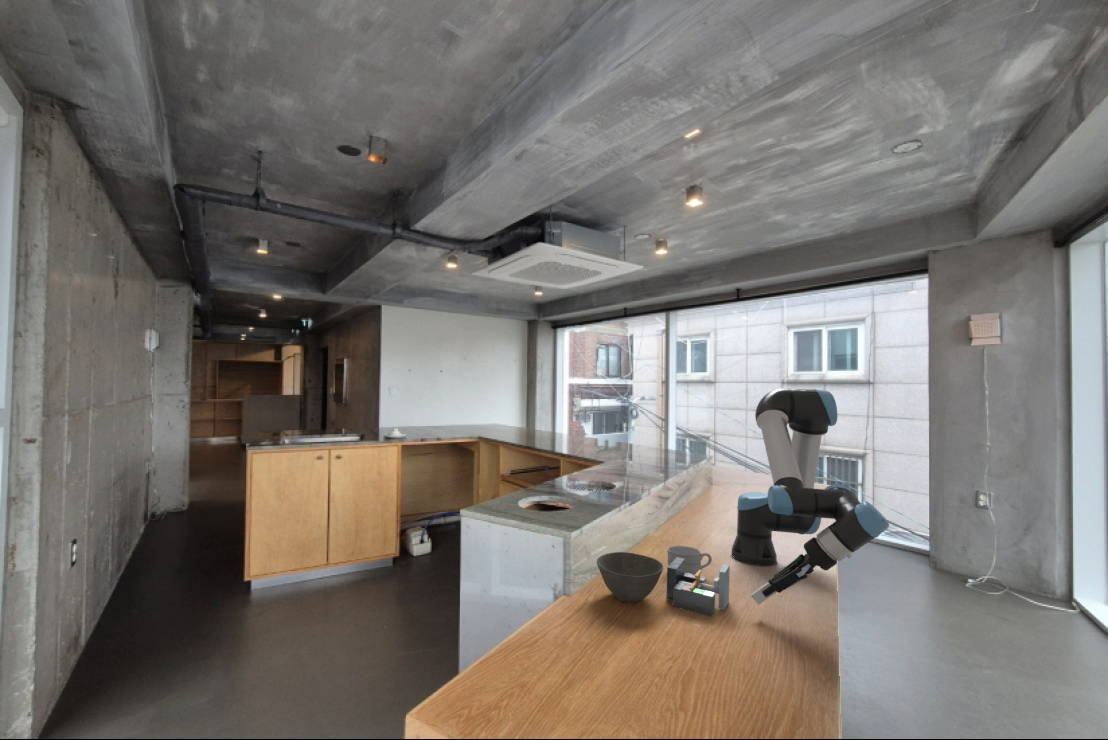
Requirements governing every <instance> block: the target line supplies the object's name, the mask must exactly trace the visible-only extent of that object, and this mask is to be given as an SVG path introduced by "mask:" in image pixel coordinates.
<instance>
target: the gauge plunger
mask: <svg viewBox="0 0 1108 740" xmlns="http://www.w3.org/2000/svg"><path fill="white" fill-rule="evenodd" d="M730 569H731V568H730V564H727V563H723V565H722V567H721V568H720V570H719V576H718V577H717V576H716V577H714V579H713V585H712V584H708V583H706V584H704V583H700V582H698V583H697V585H701V589H702V590H706V591H710V592H714V593H715V594H718V609H719V610H723V611H725V609H726V608H727V606H728V603H729V600H730Z"/></svg>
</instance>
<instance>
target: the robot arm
mask: <svg viewBox="0 0 1108 740" xmlns="http://www.w3.org/2000/svg"><path fill="white" fill-rule="evenodd" d="M754 414H755V422H756V426H757V428H759V429H760V430H761V434H762V439H763V443H764V447H765V452H766V456H767V460H768V464H769V465H768V466H769V469H770V473H771V478H772V482H773V485H771V486H769V487H768V491H767V492H762V491H754V492H753V491H752V492H745V493H742V494H740V495H739V496H738V499H737V500H738V501H737V506H736V508H737V524H736V525H737V527H736V536H735V539H734V541H733V545H732V546H731V547H732V548H731V556H732V555H733V556H734V557H735V558H736V559H735V558H734V557H733V556H732V557H733V558H734V559H735V560H737V559H738V561H739V560H740V561H739V562H742V561H743V563H745V562H746V563H745V564H749V565H754V566H763V567H765V566H766V567H767V566H774V565H776V564H777V561H778V560H777V552H776V549H775V546H774V543H773V538H772V534H773V532H778V533H790V534H799V535H813V534H815V533H816V532H818V531H819V528H820V526H821V522H822V519H830V520H831V519H832V520H835V521H834V522H832V523H831V524H830V525H828V526H827V527H825V528H824V529H822V530H821V531H820V532H819V533H817V534H816V537H812V538H811V539H809V540H807V541H806V542H805V543H804V544H803V549H804V550H805V554H803V553H802V554H799V555H798V556H797V557H796V558H795V559H794V560H793V561H791V562H789V564H787V565H786V566H785V567H784V568H782V569H781V570H780V571H779V572H777V573H776V574H774V576H773V577H772V578H771V579H768V580H767V582H766V583H765V584H763V585H762V586H760V587H759V588H758V589H756V590H755V591H753V592H752V593H751V595H750V597H751V598H752V599H753V601H754V602H755V603H756V604H757V605H758V606H759V605H760V604H762V603H763V602H765V601H766V600H768V599H769V598H771V597H772V596H774V595H775V594H776V593H778V594H781V593H782V592H783V591H785V590H787V589H788V588H790V587H792V586H793V585H794V584H795V585H796V584H797V583H798V582H800V581H802V580H805V579H807V577H808V575H810V574H812V573H813V572H815V570H814V568H815V567H820V569H821V570H823V571H828V570H830V569H831V568H833V567H834V566H836V565H837V564H838V562H842V561H843V560H844V559H845V558H846V557H847V558H848V559H850V558H852V555H851V554H852V553H854V552H855V551H858V550H859V549H861V548H862V547H863V546H864V547H865V545H867V544H868V543H870V542H871V541H873V540H874V539H876V538H878V537H879V536H880V535H881V534H882V533H884V532H885V531H886V530H887V529H888V528H889V527H890V523H889V521H888V519H886V517H885V516H884V515H883V514H882V513H881V511H879V510H878V509H877V508H876V507H875V506H874V505H873V504H871V503H870V502H869V501H866V500H865V501H862V502H861V501H859V499H858V497H857V495H856V494H855V493H854V492H853V491H852V490H851V489H850V488H849V487H847V486H845V485H843V484H839V483H833V484H831V485H828V486H826V487H825V488H814V487H815V482H816V476H817V475H816V474H817V469H818V463H819V461H818V460H819V456H820V448H821V442H822V436H824V435H826V434H827V433H828V431H829V426H830V427H833V426H835V425H836V424H837V422H838V407H837V402H836V399H835V397H834V395H833V394H832V393H831V392H830V391H828V390H824V389H816V388H814V389H813V388H812V389H811V388H810V389H809V388H808V389H806V388H777V389H773V390H771V391H769V392H767V393H766V394H765V395H764V396H763V397H762V398H761V399H760V400H759V401H758V403H757V406H756V409H755V413H754ZM788 427H789V428H788ZM789 429H790V430H791V431H792V435H791V436H792V437H791V436H790V432H789Z"/></svg>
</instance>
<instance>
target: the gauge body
mask: <svg viewBox="0 0 1108 740" xmlns="http://www.w3.org/2000/svg"><path fill="white" fill-rule="evenodd" d="M666 570H667V571H666V600H668V601H672V607H673V608H677V609H680V608H682V609H681V610H684V609H685V611H688V610H689V611H688V612H691V613H692V612H693V613H695V612H696V613H695V614H700V615H703V616H708V617H711V618H713V615H714V614H715V613H716V612H715V611H716V609H715V608H716V607H715V606H716V593H714V592H710V591H706V590H702V589H701V585H697V584H696V586H695V587H694V588H693V590H690V587H691V585H692V584H693V583H694V581H695V580H696V578H695V574H690V573H685V559H684V558H679V557H677V558H676V559H675V560H674V561H673V562H672V563H671V564H670V565H669V566H667V567H666ZM699 582H700V583H704V584H707V576H703V575H700V581H699ZM697 583H698V582H697Z"/></svg>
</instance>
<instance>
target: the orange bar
mask: <svg viewBox="0 0 1108 740" xmlns="http://www.w3.org/2000/svg"><path fill="white" fill-rule="evenodd" d="M702 572H703V569H702V570H698V572H697V573H696V574H695V578H696V580H695V581H694V583H693V584H692V585H691V587H690V590H693V588H694V587H695V586H696V584H697V582H699V581H700V576H701V575H702Z"/></svg>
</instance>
